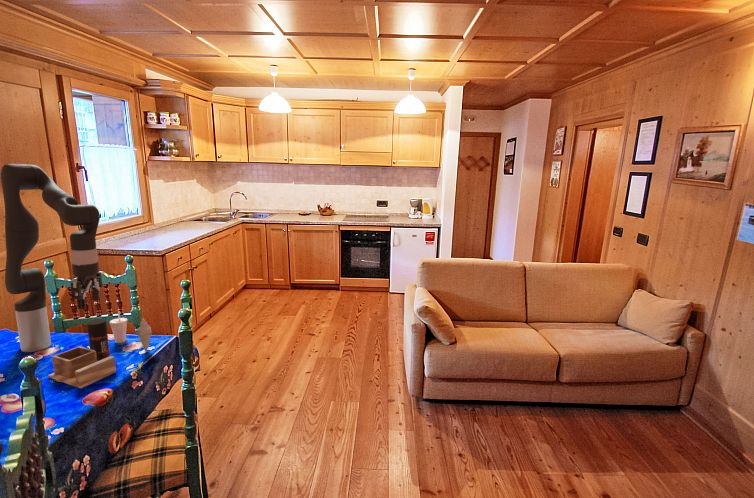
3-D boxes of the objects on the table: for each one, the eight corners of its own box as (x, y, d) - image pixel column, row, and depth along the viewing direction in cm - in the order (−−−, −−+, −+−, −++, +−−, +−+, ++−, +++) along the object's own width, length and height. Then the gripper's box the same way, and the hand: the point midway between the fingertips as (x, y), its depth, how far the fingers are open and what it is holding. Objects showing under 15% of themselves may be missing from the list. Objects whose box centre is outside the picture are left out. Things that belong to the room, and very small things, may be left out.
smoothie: (120, 345, 157) (117, 314, 155) (107, 343, 158) (104, 312, 156) (132, 339, 163) (130, 309, 161) (120, 337, 165) (117, 307, 162)
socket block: (54, 373, 132) (52, 356, 131) (81, 361, 140) (79, 346, 139) (70, 378, 129) (68, 361, 128) (97, 366, 137) (95, 350, 136)
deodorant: (101, 361, 143) (97, 325, 141) (87, 360, 144) (83, 324, 141) (113, 354, 149) (109, 319, 146) (99, 353, 150) (95, 318, 147)
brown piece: (48, 377, 131) (46, 361, 130) (85, 362, 142) (83, 348, 141) (80, 388, 125) (78, 372, 124) (116, 371, 137) (114, 356, 135)
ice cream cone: (140, 349, 154) (137, 315, 151) (154, 347, 156) (151, 314, 153) (137, 354, 150) (134, 320, 147) (152, 353, 152) (149, 318, 149)
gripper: (85, 256, 137) (89, 297, 140) (59, 266, 123) (64, 311, 126) (107, 256, 138) (111, 298, 141) (84, 266, 124) (89, 311, 128)
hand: (89, 304), depth 134 cm, fingers open, 8 cm apart
